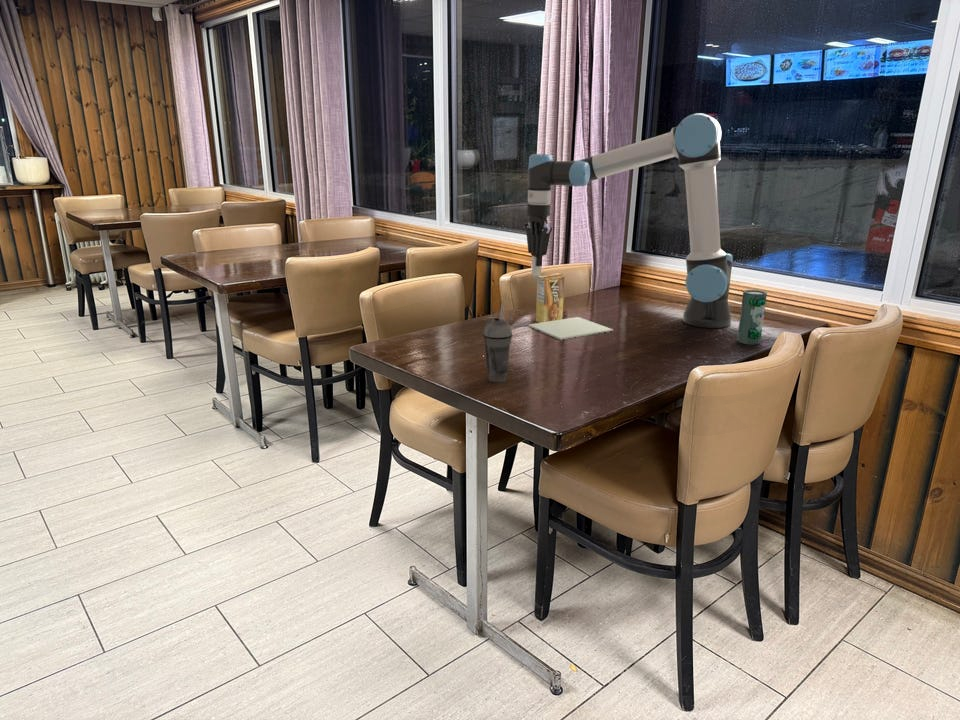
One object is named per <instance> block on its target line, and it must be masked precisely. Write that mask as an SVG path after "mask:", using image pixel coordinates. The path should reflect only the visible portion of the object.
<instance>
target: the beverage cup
mask: <svg viewBox="0 0 960 720" xmlns="http://www.w3.org/2000/svg"><path fill="white" fill-rule="evenodd" d="M504 302H505V301H503V300H502V301H501V306H500V314H499V317H498V318H493V319H491V320H489V321H487V323H486V325H485V326H484V329H483V334H482V336H483V342H484V344H485V345H484V347H485V358H486V367H487V368H486V369H487V377H488V378H487V379H488V381H490V382H492V383H501V382H502V383H503V382H505V381H506V380H507V375H508V370H509V369H508V368H509V360H510V359H509V356H510V350H511V349H510V347H511V343H512V337H513V332H512V327H511V325H510V324H509V322H507V321H506V320H505V319H504V318H502V317H503V311H504V304H505V303H504Z"/></svg>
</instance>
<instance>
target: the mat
mask: <svg viewBox="0 0 960 720" xmlns="http://www.w3.org/2000/svg"><path fill="white" fill-rule="evenodd" d="M527 327H529V328H531V329H533V328H534V329H533V330H535V331H538V330H539V331H538V332H541V333H543V334H545V335H548V336H551V337H552V338H555V339H557V340H559V341H563V339H564V340H569V338H570V339H575V338H574V337H576V338H582V337H587V336H593V334H594V335H599V333H600V334H605V333H604V332H606V333H611V332H610V331H612V332H613V331H614V329H613V328H611V327H610V328H609V327H608V326H605V325H602V324H599V323H596V322H593V321H590V320H588V319H585V318H583V317H580V316H576V317H568V318H562V319H561V320H555V321H548V322H541V323H540V322H535V323H531V324H530V323H529V324H528V325H527ZM581 336H582V337H581Z"/></svg>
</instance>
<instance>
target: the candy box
mask: <svg viewBox="0 0 960 720" xmlns="http://www.w3.org/2000/svg"><path fill="white" fill-rule="evenodd" d="M564 288H565V274H562V273H557V272H556V273H549V274H544V275H543V274H541V275H540V276H536V306H535V307H536V309H535V312H536V313H535V323H541V322H548V321H555V320H561V319H563V316H564V315H563V312H564V311H563V310H564V293H565V289H564Z"/></svg>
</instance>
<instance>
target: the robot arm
mask: <svg viewBox="0 0 960 720" xmlns="http://www.w3.org/2000/svg"><path fill="white" fill-rule="evenodd" d="M721 139H722V127H721V124H720V123H719V121H718V120H717V119H715V118H714V117H713V116H711V115H709V114H707V113H703V112H696V113H693V114H690V115H688V116H686V117H684V118H683V119H682V120H681V121H680V123H679V124H678V125H677V126H675V127H672V128H671V130H670V131H669V132H666V133H663V134H660V135H657V136H654V137H650V138H647V139H645V140H644V139H643V140H640V141H637V142H635V143H631V144H628V145H624V146H622V147H618V148H615V149H611V150H608V151H605V152H602V153H599V154H596V155H593V156H589V157H586V158H582V159H578V160H563V161H562V160H554V159H553V155H552V154H549V153H548V154H545V153H544V154H543V153H533V154H530V156H529V157H528V158H529V159H528V168H527V171H528V172H527V173H528V175H527V178H528V179H527V203H528V204H527V206H526V207H527V209H526V210H527V211H526V214H527V217H528V216H529V220H528V222H527V223H524V228H525V233H526V241H527V252H528V253H529V254H530V255H531V276H533V277H537V276H542V265H543V257H544V256H547V253H548V248H549V243H550V242H549V241H550V238H551V233H552V230H553V227H552V226H549V223H548V217H549V216H551V205H550V203H551V201H552V186H565V187H586V186H587V185H588V183H590V182H592V181H596V180H600V179H602V178H606V177H609V176H613V175H616V174H620V173H622V172H623V173H624V172H627V171H630V170H633V169H637V168H641V167H645V166H647V165H651V164H654V163H658V162H661V161H664V160H668V159H672V158H677V160H678V167H680V168H681V169H682V170H683V171H684V180H685V181H684V183H685V193H686V204H687V205H686V206H687V220H688V232H689V245H690V246H689V247H690V248H689V249H690V253H689V254H688V255H687V256H686V258H685V262H686V277H685V287H686V288H685V289H686V290H687V293H688V294H689V295H690V298H689V300H688V302H687V304H686V305H687V306H686V308H685V310H684V311H683V314H682V315H683V316H682V322H684V323H685V324H687V325H690V326H693V327H699V328H706V329H707V328H709V329H711V328H712V329H713V328H714V329H719V328H726V327H730V326H731V324H732V315H731V311H730V304H729V294H730V287H731V286H730V285H731V277H732V271H733V270H732V267H733V265H734V259H733V254H731V253H726V251H724V250H723V249H722V248H721V235H720V233H721V232H720V215H719V214H720V213H719V203H718V202H719V199H718V184H717V171H716V170H717V169H716V166H717V165H718V163H719V162H720V161H721V159H722V157H721V143H720V142H721Z"/></svg>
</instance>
